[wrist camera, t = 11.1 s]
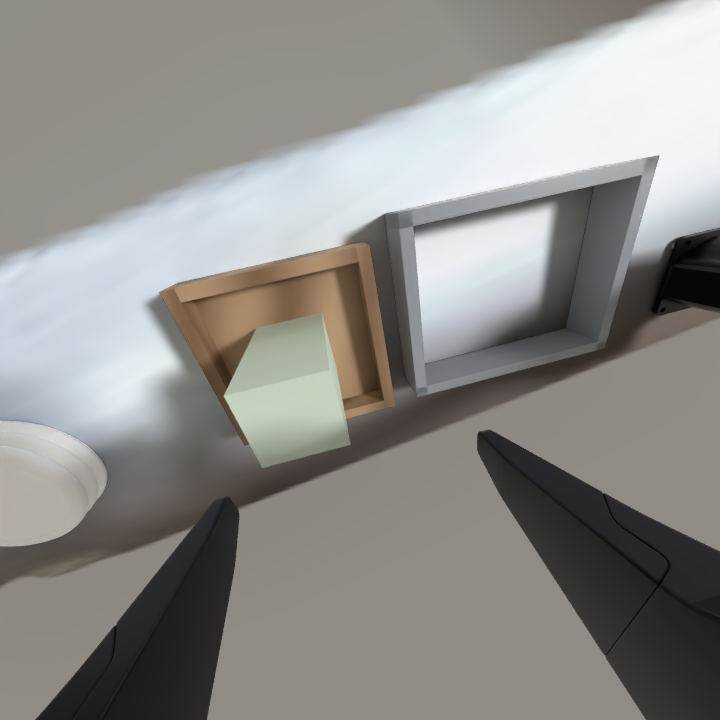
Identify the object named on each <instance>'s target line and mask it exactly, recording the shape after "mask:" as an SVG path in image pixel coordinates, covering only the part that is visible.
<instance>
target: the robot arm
mask: <svg viewBox="0 0 720 720" xmlns="http://www.w3.org/2000/svg"><path fill="white" fill-rule="evenodd" d="M691 307H695V308H699V309H703V310H708V311H712V312H716V313H720V228H717V229H712V230H708V231H704V232H700V233H696V234H692V235H687V236H684V237H682V238H680V239H679V240H678V241H677V243H676V246H675V248H674V251H673V254H672V257H671V260H670V263H669V265H668V268H667V271H666V274H665V277H664V279H663V282H662V285H661V288H660V291H659V294H658V296H657V299H656V302H655V305H654V308H653V311H652V312H653V314H656V315H664V314H668V313H671V312H675V311H679V310H683V309H687V308H691ZM477 436H478V437H477V450H478V453H479V455H480V457H481V459H482V461H483V463H484V465H485V467H486V469H487V471H488V473H489V474H490V477H491V478H492V481H493V483H494V484H495V486H496V488H497V490H498V492H499V494H500V496H501V497H502V499H503V500H504V502H505V503H506V505H507V507H508V508H509V510H510V511H511V513H512V514H513V516H514V517H515V519H516V521H517V522H518V524H519V525H520V526H521V528H522V530H523V531H524V533H525V534H526V536H527V537H528V539H529V540H530V542H531V543H532V545H533V547H534V548H535V550H536V551H537V553H538V554H539V556H540V557H541V559H542V560H543V562H544V563H545V565H546V567H547V568H548V570H549V571H550V572H551V574H552V576H553V577H554V579H555V580H556V582H557V583H558V585H559V586H560V588H561V589H562V591H563V593H564V594H565V596H566V597H567V599H568V600H569V602H570V603H571V605H572V606H573V608H574V610H575V611H576V613H577V614H578V616H579V617H580V619H581V620H582V621H583V623H584V625H585V626H586V628H587V630H588V631H589V633H590V634H591V636H592V637H593V639H594V640H595V642H596V643H597V645H598V646H599V648H600V649H601V651H602V652H603V654H604V655H606V659H607V661H608V662H609V663H610V665H611V667H612V668H613V670H614V671H615V673H616V674H617V676H618V677H619V679H620V680H621V682H622V684H623V685H624V687H625V688H626V690H627V691H628V693H629V694H630V696H631V697H632V699H633V700H634V702H635V703H636V705H637V707H638V708H639V710H640V711H641V713H642V714H643V716H644V717H645V719H646V720H720V551H718V550H716V549H714V548H712V547H710V546H707V545H705V544H703V543H701V542H699V541H697V540H695V539H693V538H691V537H689V536H687V535H685V534H682V533H680V532H678V531H676V530H674V529H672V528H670V527H668V526H666V525H664V524H662V523H660V522H658V521H656V520H654V519H652V518H650V517H648V516H646V515H644V514H642V513H640V512H638V511H636V510H635V509H633V508H630V507H629V506H627V505H625V504H623V503H621V502H620V501H618V500H616V499H614V498H612V497H610V496H609V495H607V494H605V493H604V494H603V493H602V492H601V491H599V490H598V489H596V488H594V487H592V486H591V485H589V484H587V483H585V482H583V481H581V480H580V479H578V478H576V477H574V476H573V475H571V474H569V473H567V472H565V471H564V470H562V469H560V468H558V467H556V466H555V465H553V464H551V463H549V462H547V461H546V460H544V459H542V458H540V457H538V456H537V455H535V454H533V453H531V452H529V451H528V450H526V449H524V448H522V447H520V446H519V445H517V444H515V443H513V442H511V441H509V440H508V439H506V438H504V437H502V436H501V435H499V434H497V433H495V432H493V431H492V430H484V431H481V432H479V433H478V435H477ZM238 525H239V511H238V509H237V507H236V506H235V504H234V503H233V502H232V500H231V499H230V497H223V498H219V499H216V500H215V501H214V502H213V503H212V504H211V506H210V507H209V508H208V509H207V511H206V512H205V513H204V514H203V516H202V517H201V518H200V519H199V521H198V522H197V523H196V524H195V526H194V527H193V528H192V529H191V531H190V532H189V533H188V534H187V536H186V537H185V538H184V539H183V541H182V542H181V543H180V544H179V546H178V547H177V548H176V549H175V551H174V552H173V553H172V554H171V556H170V557H169V558H168V559H167V561H166V562H165V563H164V564H163V566H162V567H161V568H160V569H159V571H158V572H157V573H156V574H155V576H154V577H153V578H152V579H151V581H150V582H149V583H148V584H147V586H146V587H145V588H144V589H143V591H142V592H141V593H140V594H139V596H138V597H137V598H136V599H135V601H134V602H133V603H132V604H131V606H130V607H129V608H128V609H127V611H126V612H125V613H124V615H123V616H122V617H121V618H120V620H119V621H118V622H117V625H116V626H114V627H113V628H112V629H111V631H110V632H109V633H108V634H107V636H106V637H105V638H104V639H103V641H102V642H101V643H100V644H99V645H98V647H97V648H96V649H95V650H94V652H93V653H92V654H91V655H90V657H89V658H88V659H87V660H86V661H85V663H84V664H83V665H82V666H81V667H80V669H79V670H78V671H77V672H76V673H75V675H74V676H73V677H72V678H71V679H70V680H69V681H68V683H67V684H66V685H65V686H64V687H63V688H62V690H61V691H60V692H59V693H58V694H57V695H56V697H55V698H54V699H53V700H52V701H51V702H50V704H49V705H48V706H47V707H46V708H45V709H44V710H43V712H42V713H41V714H40V715H39V716H38V717H37V718H36V720H207V716H208V711H209V705H210V699H211V694H212V689H213V683H214V678H215V672H216V667H217V662H218V656H219V650H220V645H221V640H222V634H223V628H224V623H225V617H226V613H227V607H228V602H229V596H230V590H231V585H232V580H233V574H234V568H235V561H236V550H237V538H238Z"/></svg>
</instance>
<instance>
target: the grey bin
mask: <svg viewBox="0 0 720 720" xmlns="http://www.w3.org/2000/svg"><path fill="white" fill-rule="evenodd" d="M658 159H659V156H653V157H648V158H642V159H637V160H631V161H626V162H620V163H615V164H609V165H605V166H600V167H596V168H591V169H586V170H582V171H577V172H573V173H568V174H564V175H559V176H555V177H550V178H546V179H541V180H536V181H532V182H527V183H523V184H518V185H514V186H509V187H505V188H500V189H496V190H491V191H486V192H482V193H477V194H473V195H468V196H464V197H459V198H455V199H450V200H446V201H441V202H436V203H432V204H427V205H423V206H418V207H414V208H409V209H405V210H400V211H396V212H391V213H386V214H384V216H385V224H386V231H387V239H388V247H389V255H390V263H391V270H392V278H393V286H394V294H395V302H396V309H397V317H398V325H399V333H400V341H401V348H402V356H403V364H404V372H405V378H406V379H407V381H408V383H409V384H410V386H411V388H412V389H413V391H414V393H415V394H416V396H417V397H420V396H424V395H428V394H432V393H436V392H439V391H443V390H447V389H451V388H455V387H459V386H462V385H466V384H470V383H474V382H478V381H482V380H485V379H489V378H493V377H497V376H501V375H505V374H508V373H512V372H516V371H520V370H524V369H528V368H531V367H535V366H539V365H543V364H547V363H550V362H554V361H558V360H562V359H566V358H570V357H573V356H577V355H581V354H585V353H589V352H593V351H596V350H600V349H604V348H605V345H606V342H607V338H608V335H609V331H610V328H611V324H612V321H613V317H614V314H615V310H616V307H617V303H618V300H619V296H620V292H621V289H622V285H623V282H624V278H625V275H626V271H627V268H628V264H629V261H630V257H631V254H632V250H633V247H634V243H635V240H636V236H637V233H638V229H639V226H640V222H641V219H642V215H643V212H644V208H645V205H646V201H647V198H648V194H649V191H650V187H651V183H652V180H653V176H654V173H655V169H656V166H657V162H658ZM590 186H594V188H593V193H592V199H591V204H590V209H589V214H588V219H587V224H586V229H585V234H584V239H583V244H582V249H581V254H580V259H579V264H578V269H577V274H576V280H575V285H574V290H573V295H572V300H571V305H570V310H569V315H568V320H567V325H566V328H565V329H561V330H557V331H553V332H549V333H545V334H541V335H537V336H534V337H530V338H526V339H522V340H518V341H514V342H510V343H506V344H502V345H498V346H494V347H490V348H486V349H482V350H479V351H475V352H471V353H467V354H463V355H459V356H455V357H451V358H447V359H443V360H439V361H435V362H431V363H427V364H425V360H424V348H423V336H422V325H421V313H420V301H419V289H418V277H417V265H416V253H415V241H414V229H413V226H416V225H420V224H425V223H429V222H434V221H438V220H443V219H447V218H452V217H456V216H461V215H465V214H470V213H474V212H478V211H483V210H487V209H492V208H496V207H501V206H505V205H510V204H514V203H519V202H523V201H528V200H532V199H537V198H541V197H545V196H550V195H554V194H559V193H563V192H568V191H572V190H577V189H581V188H586V187H590Z"/></svg>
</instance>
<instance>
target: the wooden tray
mask: <svg viewBox="0 0 720 720" xmlns="http://www.w3.org/2000/svg"><path fill="white" fill-rule="evenodd" d="M159 293H160V294H161V296H162V298H163V300H164V302H165V303H166V305H167V307H168V309H169V311H170V312H171V314H172V316H173V318H174V320H175V321H176V323H177V325H178V327H179V329H180V330H181V332H182V334H183V336H184V338H185V339H186V341H187V343H188V345H189V347H190V348H191V350H192V352H193V354H194V356H195V357H196V359H197V361H198V363H199V365H200V366H201V368H202V370H203V372H204V374H205V375H206V377H207V379H208V381H209V383H210V384H211V386H212V388H213V390H214V391H215V393H216V395H217V397H218V399H219V400H220V402H221V404H222V406H223V408H224V409H225V411H226V413H227V415H228V417H229V418H230V420H231V422H232V424H233V426H234V427H235V429H236V431H237V433H238V435H239V436H240V438H241V440H242V442H243V444H244V445H248V444H249V442H248V441H247V439H246V437H245V435H244V433H243V431H242V429H241V427H240V426H239V424H238V422H237V420H236V418H235V416H234V414H233V413H232V411H231V409H230V407H229V405H228V403H227V401H226V400H225V398H224V394H225V392H226V390H227V388H228V386H229V384H230V382H231V380H232V378H233V376H234V374H235V372H236V369H237V367H238V365H239V363H240V361H241V359H242V357H243V355H244V353H245V351H246V349H247V347H248V345H249V343H250V341H251V338H252V336H253V334H254V332H255V330H256V328H259V327H263V326H268V325H272V324H276V323H280V322H285V321H289V320H293V319H297V318H302V317H306V316H310V315H315V314H319V313H322V316H323V319H324V323H325V327H326V331H327V334H328V338H329V342H330V346H331V349H332V353H333V357H334V361H335V364H336V368H337V373H338V379H339V384H340V390H341V395H342V401H343V406H344V412H345V417H346V419H348V418H351V417H355V416H359V415H363V414H367V413H370V412H374V411H378V410H382V409H386V408H390V407H393V406H395V401H394V395H393V388H392V382H391V376H390V370H389V363H388V357H387V351H386V344H385V338H384V332H383V326H382V319H381V313H380V307H379V301H378V294H377V288H376V282H375V275H374V269H373V263H372V257H371V250H370V245H369V244H367V243H364V242H358V243H354V244H349V245H345V246H340V247H336V248H331V249H327V250H322V251H318V252H314V253H309V254H305V255H300V256H296V257H291V258H287V259H282V260H278V261H273V262H269V263H265V264H260V265H256V266H251V267H247V268H242V269H238V270H233V271H229V272H225V273H220V274H216V275H211V276H207V277H202V278H198V279H193V280H189V281H185V282H180V283H177V284H175V285H173V286H171V287H169V288H167V289H165V290H163V291H161V292H159Z"/></svg>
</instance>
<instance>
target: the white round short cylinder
mask: <svg viewBox="0 0 720 720" xmlns="http://www.w3.org/2000/svg"><path fill="white" fill-rule="evenodd" d="M106 483H107V471H106V468H105V465H104V464H103V462H102V460H101V459H100V458H99V457H98V455H97V454H96V453H95V452H94V451H93V450H92V449H91V448H90V447H88V446H87V445H86V444H84V443H83V442H81V441H80V440H78V439H76V438H75V437H73V436H71V435H69V434H67V433H64V432H62V431H59V430H57V429H54V428H51V427H47V426H44V425H39V424H35V423H28V422H21V421H0V546H7V547H8V546H26V545H33V544H38V543H42V542H46V541H49V540H52V539H55V538H58V537H60V536H63V535H64V534H66V533H68V532H70V531H71V530H72V529H73V528H75V527H76V526H77V525H78V524H79V523H80V522H81V521H82V520H83V518H84V517H85V515H86V513H87V512H88V511H89V510H90V509H91V508H92V507H93V505H94V503H95V501H96V500H97V499H98V498H99V497H100V496H101V495H102V493H103V491H104V489H105V486H106Z"/></svg>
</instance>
